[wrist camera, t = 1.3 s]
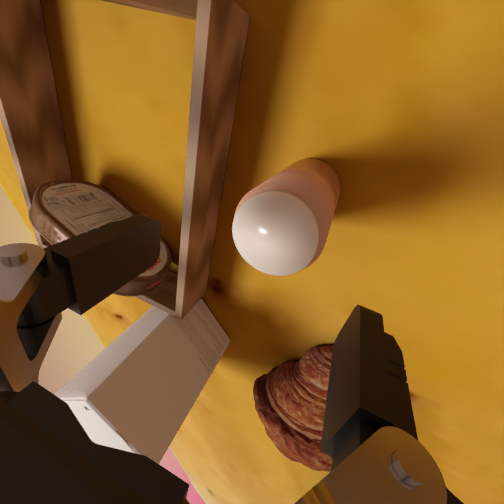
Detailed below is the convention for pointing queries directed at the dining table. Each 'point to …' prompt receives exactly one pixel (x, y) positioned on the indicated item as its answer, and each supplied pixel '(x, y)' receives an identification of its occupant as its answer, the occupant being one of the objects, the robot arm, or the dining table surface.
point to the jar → (287, 218)
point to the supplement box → (147, 380)
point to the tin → (89, 222)
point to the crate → (199, 133)
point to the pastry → (297, 406)
